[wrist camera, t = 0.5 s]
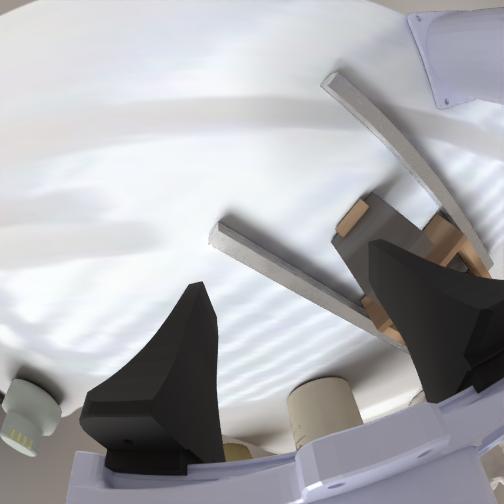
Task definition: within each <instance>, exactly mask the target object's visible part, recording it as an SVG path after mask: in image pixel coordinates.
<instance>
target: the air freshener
mask: <svg viewBox="0 0 504 504" xmlns="http://www.w3.org/2000/svg"><path fill="white" fill-rule="evenodd" d="M2 407H3V409H4V410H5V412H6V413H7V415H6V418H5V421H4V423H3V426H2V429H1V432H0V436H1V438H2V439H3V440H4V441H5V442H6V443H7V444H8V445H10V446H11V447H13V448H14V449H16V450H18V451H20V452H21V453H23V454H26V455H28V456H32V457H34V456H36V455H37V452H38V449H39V445H40V442H41V439H42V435H51V434H52V433H53V432H54V430H55V428H56V427H57V425H58V423H59V420H60V417H61V413H62V412H61V409H60V407H59V406H58V404H57V403H56V401H55V400H54V399H53V398H52V397H51V396H50V395H49V394H48V393H47V392H46V391H44V390H43V389H42V388H40V387H39V386H37V385H35V384H33V383H31V382H28V381H25V380H21V379H13V380H12V383H11V385H10V387H9V389H8V391H7V394H6V396H5V398H4V401H3V403H2Z"/></svg>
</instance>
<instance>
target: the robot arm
mask: <svg viewBox="0 0 504 504" xmlns="http://www.w3.org/2000/svg"><path fill="white" fill-rule="evenodd" d="M416 17H417V18H418V19H419V21H418V20H417V19H416ZM406 19H407V22H408V24H409V26H410V29H411V31H412V33H413V36H414V38H415V41H416V43H417V46H418V49H419V51H420V54H421V57H422V60H423V63H424V66H425V69H426V72H427V75H428V78H429V81H430V85H431V88H432V92H433V95H434V99H435V102H436V105H437V107H438V108H440V109H446V108H449V107H452V106H455V105H459V104H462V103H465V102H469V101H472V100H476V99H479V100H484V101H489V102H494V103H499V104H503V105H504V7H500V8H490V9H480V10H472V11H433V12H419V13H410V14H407V16H406ZM445 99H446V104H445ZM368 254H369V282H370V284H371V286H372V289H373V291H374V293H375V295H376V297H377V299H378V300H379V302H380V303H381V305H382V306H383V308H384V310H385V311H386V313H387V314H388V316H389V317H390V319H391V320H392V322H393V324H394V325H395V327H396V328H397V330H398V331H399V333H400V335H401V337H402V338H403V340H404V342H405V344H406V347H407V349H408V351H409V353H410V355H411V358H412V360H413V363H414V365H415V368H416V370H417V373H418V376H419V378H420V381H421V384H422V387H423V390H424V393H425V397H426V401H427V402H424V403H421V404H417V405H414V406H411V407H409V408H406V409H404V410H401V411H399V412H396V413H394V414H391V415H388V416H386V417H383V418H380V419H377V420H374V421H371V422H369V423H366V424H363V425H359V426H356V427H353V428H350V429H346V430H343V431H340V432H336V433H332V434H329V435H327V436H324V437H321V438H318V439H315V440H313V441H311V442H309V443H308V444H306V445H304V446H303V447H301V448H300V449H299V450H298V451H296V452H291V453H286V454H281V455H275V456H269V457H263V458H257V459H249V460H241V461H232V462H226V459H225V454H224V448H223V442H222V435H221V428H220V419H219V410H218V400H217V358H218V326H217V316H216V314H215V312H214V309H213V306H212V304H211V301H210V299H209V296H208V294H207V291H206V289H205V286H204V283H203V281H202V282H197V283H193V284H189V285H188V287H187V288H186V290H185V291H184V293H183V294H182V296H181V298H180V299H179V301H178V302H177V304H176V306H175V307H174V309H173V310H172V312H171V313H170V315H169V316H168V318H167V319H166V320H165V322H164V323H163V324H162V326H161V327H160V329H159V330H158V331H157V333H156V334H155V335H154V336H153V337H152V339H151V340H150V341H149V342H148V343H147V344H146V345H145V347H144V348H143V349H142V350H141V351H140V352H139V353H138V354H137V355H136V356H135V357H134V358H132V359H131V360H130V361H129V362H128V363H127V364H126V365H125V366H124V367H123V368H121V369H120V370H119V371H118V372H116V373H115V374H114V375H113V376H111V377H110V378H108V379H107V380H106V381H104V382H103V383H101V384H100V385H98V386H97V387H95V388H93V389H92V390H90V391H89V392H87V395H86V399H85V402H84V405H83V409H82V412H81V416H80V419H79V420H80V425H81V426H82V428H83V430H84V431H85V432H86V433H87V434H88V435H90V436H91V437H92V438H93V439H95V440H96V441H97V442H98V443H100V444H101V445H102V446H104V447H105V448H107V454H106V456H105V455H102V454H98V453H91V452H83V451H76V452H75V457H74V461H73V466H72V471H71V476H70V481H69V487H68V493H67V499H66V504H498V503H497V500H496V498H495V495H494V493H493V490H492V487H491V485H490V483H489V480H488V478H487V475H486V473H485V471H484V468H483V466H482V464H481V461H480V459H479V457H480V456H481V455H483V454H484V453H486V452H487V451H489V450H490V449H491V448H493V447H494V446H496V445H497V444H498V443H500V442H501V441H502V440H504V280H497V279H490V278H484V277H479V276H474V275H470V274H466V273H462V272H459V271H455V270H452V269H449V268H446V267H443V266H441V265H438V264H436V263H433V262H431V261H429V260H426V259H424V258H422V257H419V256H417V255H415V254H413V253H411V252H409V251H407V250H405V249H403V248H401V247H399V246H396V245H394V244H392V243H390V242H388V241H386V240H383V239H377V240H373V241H369V242H368Z"/></svg>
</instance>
